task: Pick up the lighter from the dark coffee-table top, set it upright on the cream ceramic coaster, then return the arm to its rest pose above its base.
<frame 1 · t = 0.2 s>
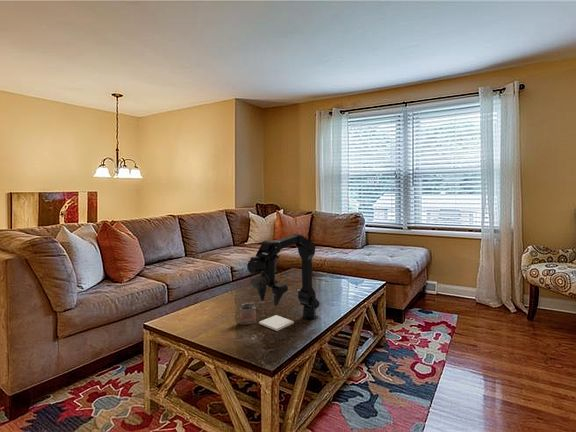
hand: (269, 303, 155), 15 cm above the table, fingers open, 9 cm apart
coaster: (276, 323, 169), on the table
lighter: (247, 323, 169), on the table
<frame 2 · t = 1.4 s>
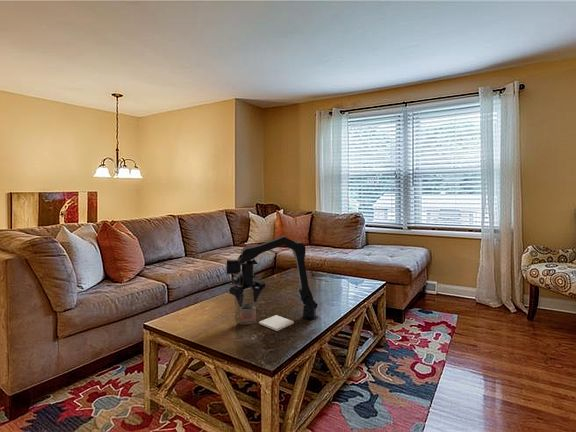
hand: (247, 304, 168), 9 cm above the table, fingers open, 9 cm apart
nothing on the table moved.
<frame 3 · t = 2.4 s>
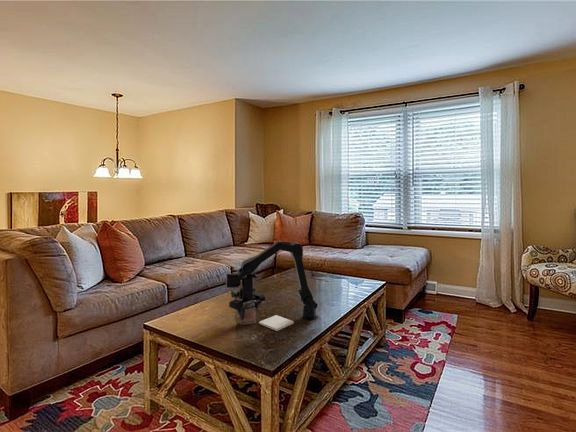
hand: (247, 317, 169), 3 cm above the table, fingers closed on lighter, 7 cm apart
lighter: (247, 323, 169), on the table, touching gripper
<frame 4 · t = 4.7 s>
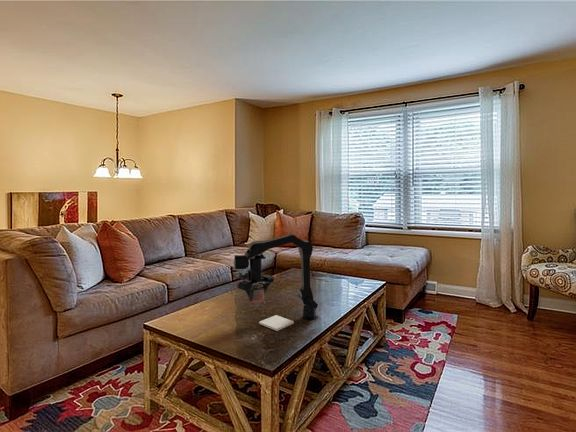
hand: (256, 299, 168), 12 cm above the table, fingers closed on lighter, 7 cm apart
lighter: (256, 304, 168), point 9 cm above the table, touching gripper
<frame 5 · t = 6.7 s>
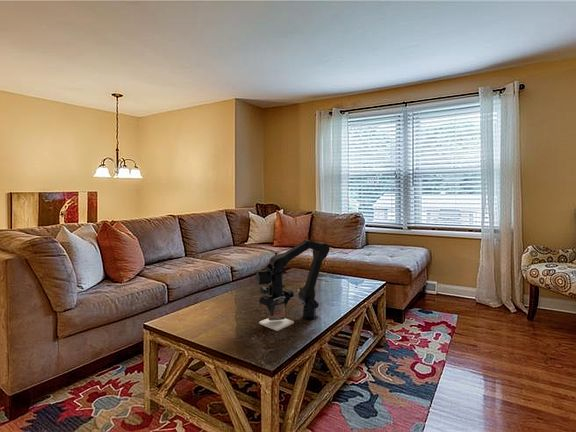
hand: (276, 314, 168), 5 cm above the table, fingers closed on lighter, 7 cm apart
lighter: (276, 319, 168), point 2 cm above the table, touching gripper
when the fingers open (4 cm above the table, at t = 7.3 s): lighter stays where it is, resting on coaster.
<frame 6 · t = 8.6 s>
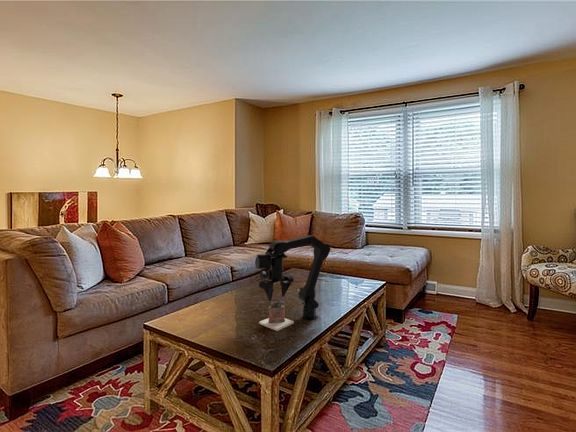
hand: (276, 298, 167), 12 cm above the table, fingers open, 9 cm apart
lighter: (276, 321, 169), point 1 cm above the table, touching coaster
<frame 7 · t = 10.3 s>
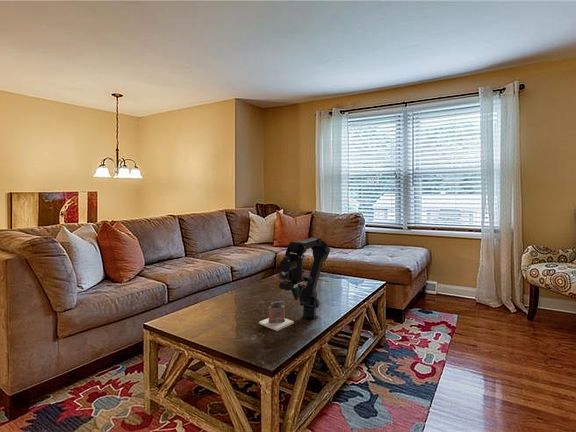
hand: (296, 300, 164), 13 cm above the table, fingers closed
nothing on the table moved.
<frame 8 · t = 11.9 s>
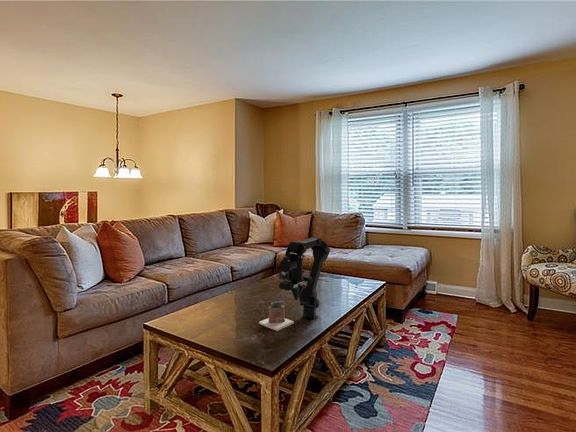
hand: (296, 300, 164), 13 cm above the table, fingers closed
nothing on the table moved.
at the end: lighter 0.1 cm from the coaster (horizontally); lighter touching coaster; lighter tilted 0° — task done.
